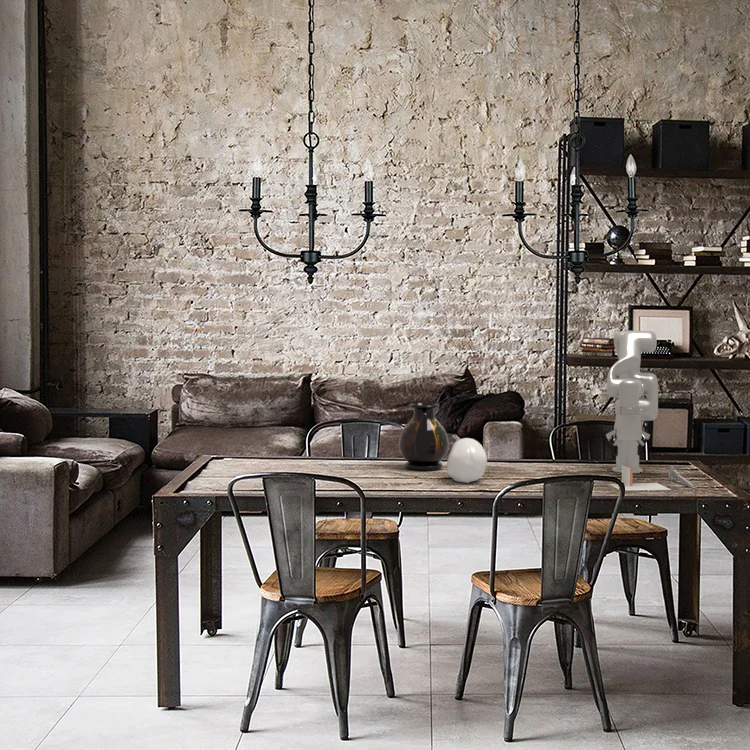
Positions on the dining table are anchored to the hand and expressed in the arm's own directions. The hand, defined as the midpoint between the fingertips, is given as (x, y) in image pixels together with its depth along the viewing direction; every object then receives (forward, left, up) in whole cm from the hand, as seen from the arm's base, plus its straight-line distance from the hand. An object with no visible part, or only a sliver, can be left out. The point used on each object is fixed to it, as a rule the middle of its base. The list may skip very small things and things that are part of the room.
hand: (627, 455), depth 394 cm
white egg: (-18, -61, -12) cm, 64 cm away
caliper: (-3, +23, -13) cm, 26 cm away
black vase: (-48, -74, -12) cm, 89 cm away
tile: (-1, 0, -11) cm, 11 cm away
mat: (+5, +3, -12) cm, 13 cm away
